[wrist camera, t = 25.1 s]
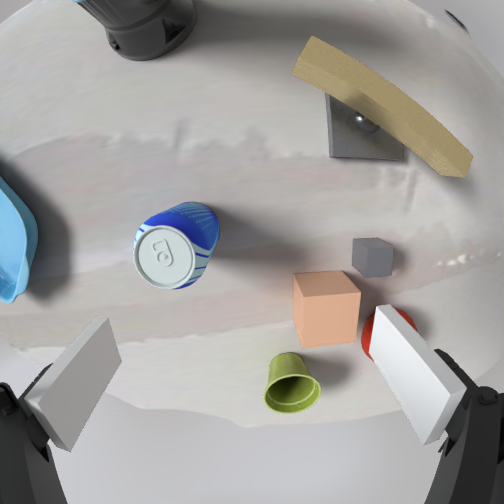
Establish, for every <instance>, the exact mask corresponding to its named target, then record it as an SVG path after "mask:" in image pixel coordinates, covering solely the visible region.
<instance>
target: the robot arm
mask: <svg viewBox="0 0 504 504" xmlns="http://www.w3.org/2000/svg"><path fill="white" fill-rule="evenodd" d="M73 1H74V2H77V3H78V4H79V5H80V6H81V7H83V8H84V9H85V10H86V11H87V12H89V13H90V14H91V15H92V16H93V17H94V18H96V19H97V20H98V21H99V22H100V23H101V24H102V25H103V26H104V27H105V31H106V34H107V38H108V41H109V44H110V46H111V47H112V48H113V50H114V51H116V52H117V53H118V54H119V55H120V56H122V57H124V58H126V59H129V60H136V61H141V60H149V59H153V58H156V57H159V56H162V55H164V54H166V53H168V52H170V51H171V50H173V49H174V48H176V47H177V46H178V45H180V44H181V43H182V42H183V41H184V40H185V39H186V38H187V37H188V35H189V34H190V32H191V31H192V29H193V27H194V24H195V21H196V11H195V8H194V5H193V2H192V0H73ZM369 354H370V355H371V357H372V359H373V360H374V362H375V363H376V365H377V367H378V368H379V370H380V372H381V373H382V375H383V377H384V378H385V380H386V382H387V383H388V385H389V387H390V388H391V390H392V392H393V394H394V395H395V397H396V399H397V400H398V402H399V404H400V406H401V407H402V409H403V411H404V412H405V414H406V416H407V418H408V420H409V421H410V423H411V425H412V427H413V429H414V430H415V432H416V434H417V436H418V438H419V439H420V441H421V443H422V445H423V446H424V445H426V444H429V443H431V442H433V441H436V440H438V439H439V438H440V437H441V435H442V433H443V432H444V430H446V432H447V433H448V437H447V438H446V440H445V442H444V443H443V445H442V446H441V448H440V449H439V451H438V452H441V451H442V449H443V452H442V455H441V459H440V462H439V465H438V468H437V471H436V474H435V477H434V480H433V483H432V486H431V488H430V491H429V493H428V496H427V499H426V501H425V503H424V504H504V393H501V394H498V392H497V391H496V390H494V389H493V388H490V387H487V386H481V387H478V386H477V385H476V384H475V383H474V382H473V381H472V380H471V378H470V377H469V376H468V375H467V374H466V373H465V372H464V371H463V370H462V369H461V368H459V365H458V364H457V363H456V362H454V360H453V359H452V358H451V357H450V356H449V355H448V354H447V353H445V352H444V351H442V350H440V349H435V350H433V349H432V348H431V347H430V346H429V345H428V343H427V342H426V341H425V340H424V339H423V338H422V337H421V336H420V335H419V334H418V333H417V332H416V331H415V330H414V329H413V328H412V326H411V325H410V324H409V323H408V322H407V321H406V320H405V319H404V318H403V317H402V316H401V315H400V314H399V313H398V312H397V311H396V310H395V309H394V308H393V307H392V306H391V305H390V304H388V305H380V306H376V312H375V319H374V325H373V331H372V337H371V343H370V348H369ZM121 362H122V361H121V358H120V355H119V352H118V348H117V345H116V342H115V339H114V336H113V332H112V329H111V325H110V322H109V318H108V317H95V318H94V319H93V320H92V321H91V323H90V324H89V325H88V326H87V327H86V328H85V329H84V330H83V331H82V332H81V333H80V334H79V335H78V336H77V338H76V339H75V340H74V341H73V342H72V343H71V344H70V345H69V346H68V347H67V348H66V350H65V351H64V352H63V353H62V354H61V355H60V356H59V357H58V359H57V360H56V361H55V362H54V363H52V364H50V365H48V366H47V367H45V368H44V369H43V370H42V371H41V373H40V374H39V375H38V376H37V377H36V378H35V379H34V382H32V383H31V384H30V386H29V387H28V388H27V389H26V390H25V391H24V393H23V394H22V395H21V396H20V397H19V399H18V400H17V398H16V396H15V394H14V393H13V391H12V389H11V387H10V386H9V385H8V384H7V383H4V382H2V383H0V504H67V501H66V498H65V495H64V493H63V490H62V487H61V484H60V481H59V478H58V474H57V471H56V468H55V464H54V460H53V457H52V453H51V449H50V447H49V445H48V444H47V442H48V440H49V438H50V439H51V440H52V442H53V443H54V444H55V445H56V447H58V448H61V449H64V450H66V451H69V452H71V450H72V448H73V446H74V444H75V443H76V441H77V439H78V437H79V435H80V433H81V431H82V429H83V428H84V426H85V424H86V422H87V420H88V419H89V417H90V415H91V413H92V411H93V410H94V408H95V406H96V404H97V403H98V401H99V399H100V397H101V396H102V394H103V392H104V391H105V389H106V387H107V385H108V384H109V382H110V380H111V379H112V377H113V375H114V374H115V372H116V370H117V369H118V367H119V365H120V364H121Z"/></svg>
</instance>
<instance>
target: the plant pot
mask: <svg viewBox="0 0 504 504" xmlns="http://www.w3.org/2000/svg"><path fill="white" fill-rule="evenodd" d="M320 394H321V387H320V384H319V382H318V381H317V380H316V379H315V378H313V377H312V376H311V375H310V373H309V372H308V370H307V368H306V366H305V364H304V362H303V361H302V359H301V357H300V356H298V355H297V354H295V353H285V354H279V355H277V356H276V357H275V358H274V359H273V360H272V361H271V364H270V371H269V380H268V385H267V387H266V389H265V391H264V394H263V400H264V403H265V405H266V406H267V407H268V408H269V409H271V410H272V411H274V412H277V413H282V414H293V413H298V412H301V411H304V410H306V409H308V408H310V407H311V406H312V405H314V404H315V403H316V401H317V400H318V399H319V397H320Z"/></svg>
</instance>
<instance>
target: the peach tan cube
mask: <svg viewBox="0 0 504 504" xmlns="http://www.w3.org/2000/svg"><path fill="white" fill-rule="evenodd" d="M360 298H361V292H360V290H359V289H358V288H357V287H356V286H355V285H354V284H353V283H352V282H351V280H350V279H349V278H348V277H347V276H346V275H345V274H344V273H343V272H342V271H327V272H312V273H296V274H293V320H294V323H295V326H296V330H297V333H298V337H299V340H300V344H301V347H302V348H307V347H317V346H327V345H335V344H343V343H351V342H355V338H356V331H357V324H358V316H359V307H360Z"/></svg>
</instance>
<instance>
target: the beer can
mask: <svg viewBox="0 0 504 504" xmlns="http://www.w3.org/2000/svg"><path fill="white" fill-rule="evenodd" d="M219 236H220V226H219V222H218V219H217V217H216V215H215V214H214V212H213V211H212V210H211V209H210V208H208V207H207V206H205V205H203V204H201V203H198V202H185V203H182V204H179V205H177V206H175V207H173V208H170V209H168V210H166V211H164V212H161V213H159V214H157V215H155V216H153V217H151V218H149V219H148V220H147V221H146V222H144V224H143V225H142V226H141V227H140V228H139V230H138V232H137V234H136V237H135V241H134V255H133V256H134V263H135V266H136V269H137V271H138V272H139V274H140V275H141V277H142V278H143V279H144V280H145V281H146V282H148V283H149V284H150V285H152V286H154V287H157V288H160V289H180V288H184V287H187V286H189V285H191V284H193V283H194V282H195V281H197V280H198V279H199V278H200V276H201V275H202V274H203V272H204V270H205V268H206V266H207V264H208V262H209V259H210V257H211V255H212V253H213V251H214V248H215V246H216V244H217V242H218V239H219Z"/></svg>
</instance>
